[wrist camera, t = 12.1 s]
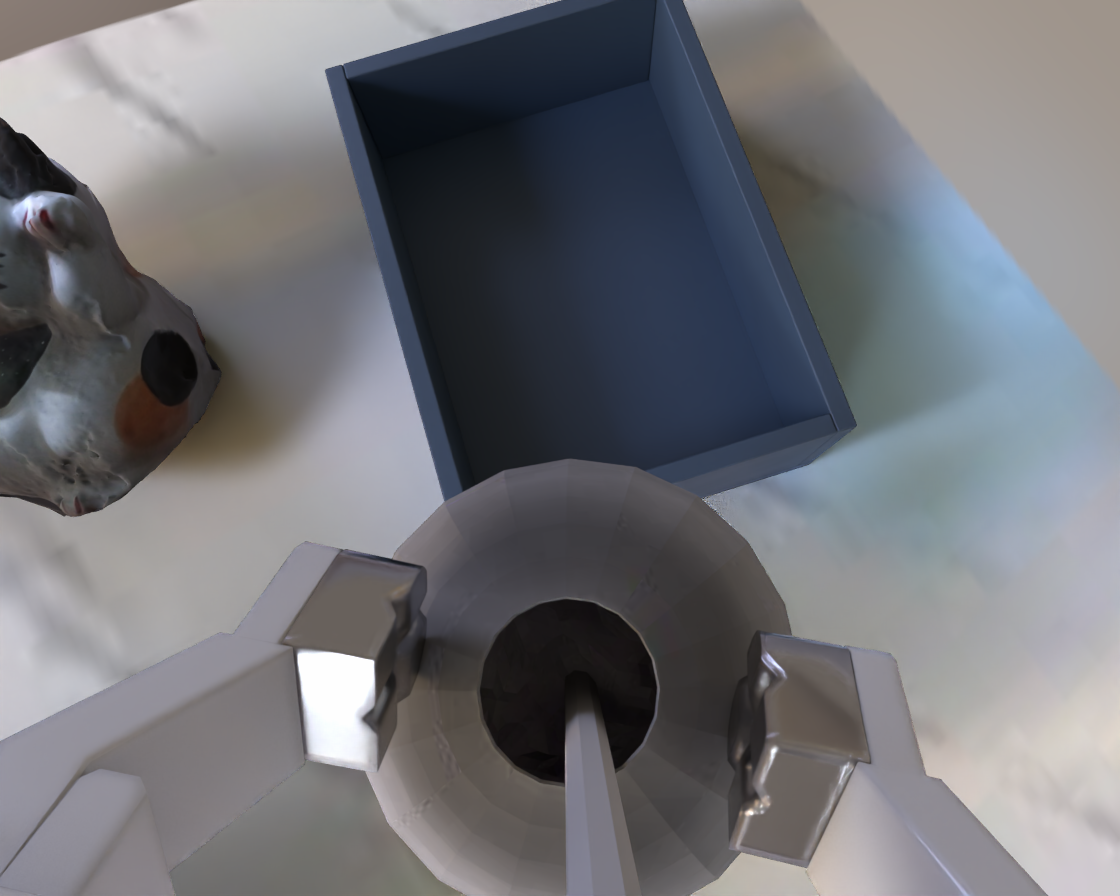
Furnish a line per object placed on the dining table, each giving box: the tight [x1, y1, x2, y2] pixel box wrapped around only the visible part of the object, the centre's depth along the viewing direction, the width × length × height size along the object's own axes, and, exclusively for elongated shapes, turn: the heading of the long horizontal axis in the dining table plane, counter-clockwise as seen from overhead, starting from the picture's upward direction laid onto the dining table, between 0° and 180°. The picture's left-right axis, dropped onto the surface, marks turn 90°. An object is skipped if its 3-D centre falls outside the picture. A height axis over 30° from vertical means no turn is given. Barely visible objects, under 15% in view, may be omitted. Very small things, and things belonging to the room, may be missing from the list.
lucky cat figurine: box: [0, 117, 221, 517], centre depth 34 cm, size 15×12×14 cm
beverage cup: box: [365, 459, 792, 896], centre depth 15 cm, size 7×7×20 cm
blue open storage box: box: [325, 0, 857, 501], centre depth 36 cm, size 16×22×7 cm
